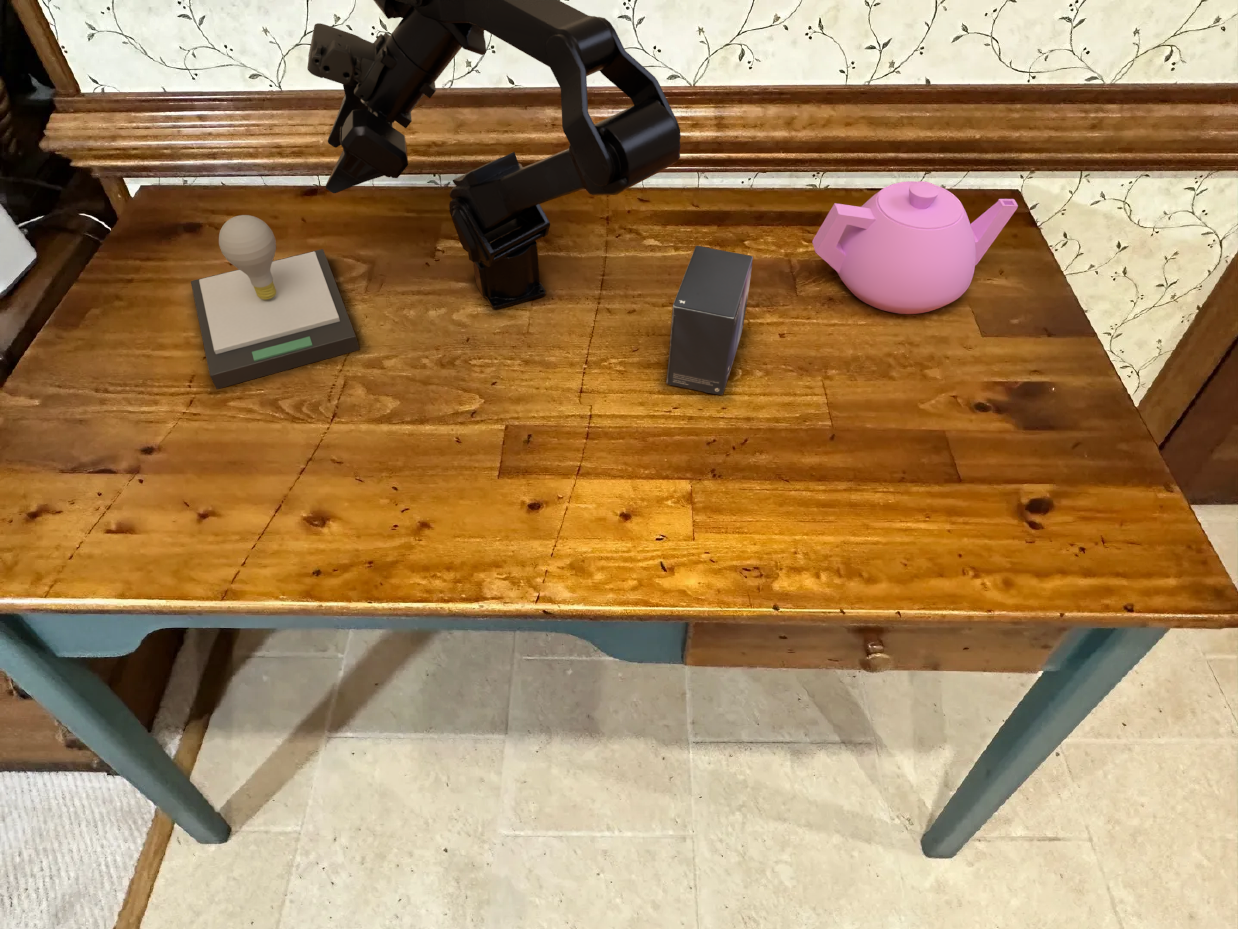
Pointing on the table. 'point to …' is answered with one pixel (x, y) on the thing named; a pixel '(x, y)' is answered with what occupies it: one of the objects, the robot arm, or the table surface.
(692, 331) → the small box
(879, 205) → the teapot
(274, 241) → the light bulb
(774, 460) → the table surface
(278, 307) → the scale
